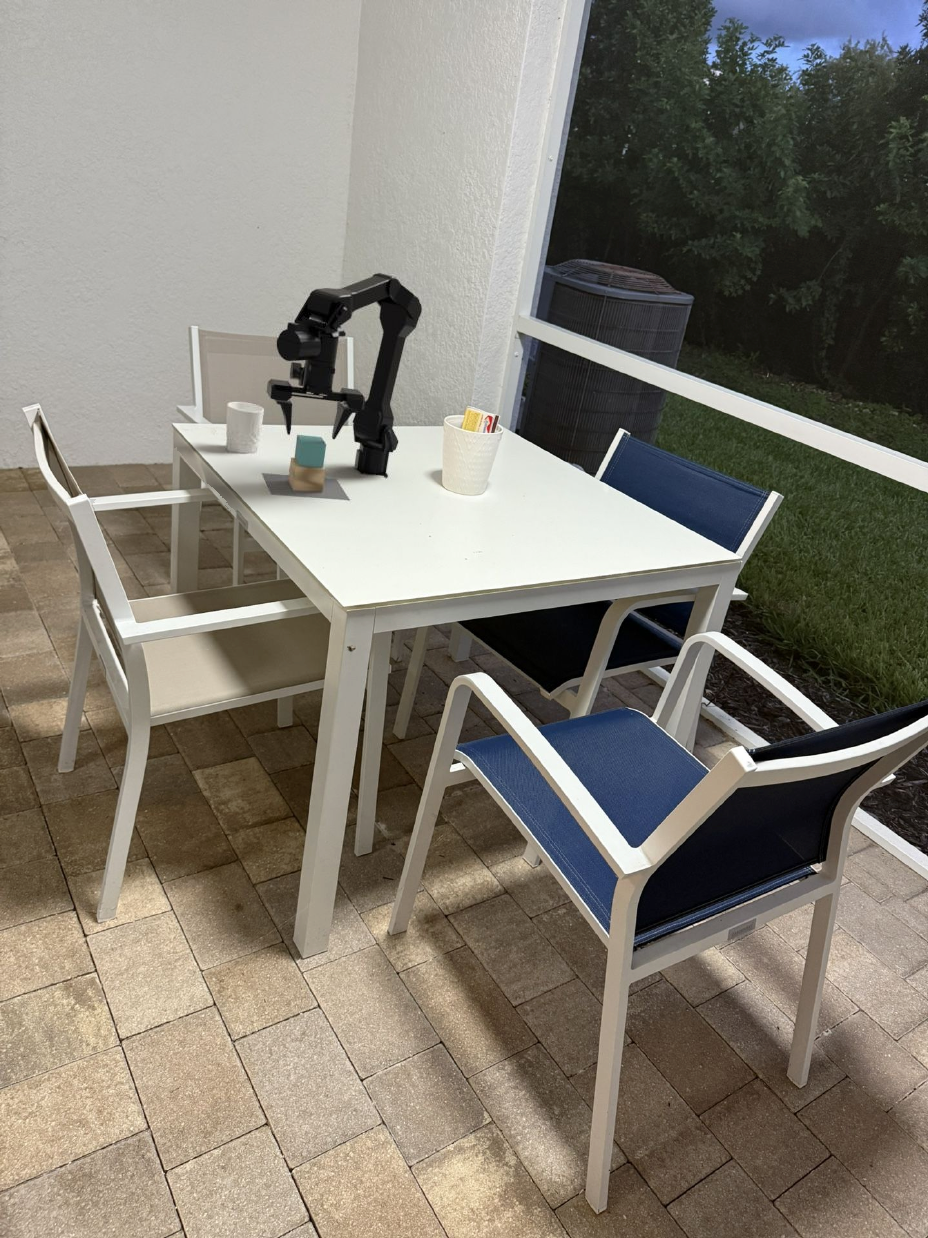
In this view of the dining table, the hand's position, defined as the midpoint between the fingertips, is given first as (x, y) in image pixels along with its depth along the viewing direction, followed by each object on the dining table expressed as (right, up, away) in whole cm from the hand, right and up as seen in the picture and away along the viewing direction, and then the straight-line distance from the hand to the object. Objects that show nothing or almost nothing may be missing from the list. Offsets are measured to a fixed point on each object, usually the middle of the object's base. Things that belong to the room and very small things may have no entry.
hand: (311, 436), depth 184 cm
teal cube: (-1, -5, +2) cm, 6 cm away
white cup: (-19, +1, +20) cm, 28 cm away
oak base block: (-2, -9, +4) cm, 11 cm away
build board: (-2, -10, +5) cm, 11 cm away
